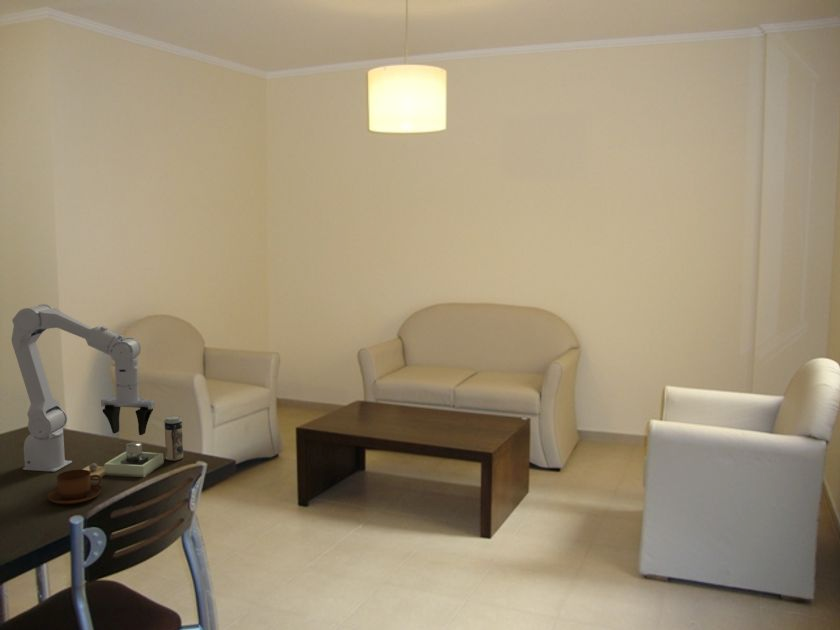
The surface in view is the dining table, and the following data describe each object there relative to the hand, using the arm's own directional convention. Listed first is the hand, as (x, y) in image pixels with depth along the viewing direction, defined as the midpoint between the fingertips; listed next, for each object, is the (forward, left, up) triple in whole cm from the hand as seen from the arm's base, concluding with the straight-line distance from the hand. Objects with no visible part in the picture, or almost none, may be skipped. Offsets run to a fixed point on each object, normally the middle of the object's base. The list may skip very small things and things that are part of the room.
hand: (129, 433), depth 203 cm
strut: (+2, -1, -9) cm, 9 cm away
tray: (+2, -1, -10) cm, 10 cm away
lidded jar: (+8, +9, -10) cm, 16 cm away
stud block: (-7, -6, -10) cm, 13 cm away
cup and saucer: (-2, -22, -10) cm, 25 cm away
